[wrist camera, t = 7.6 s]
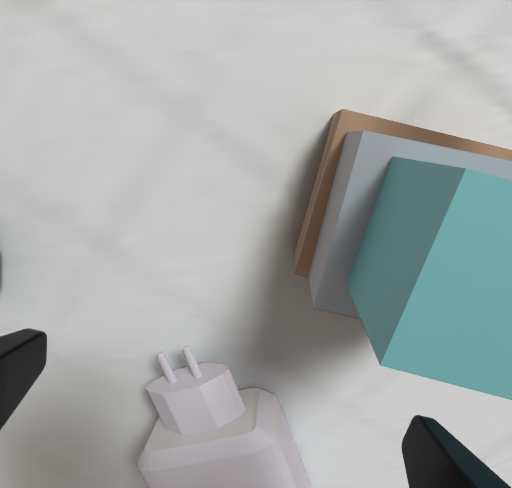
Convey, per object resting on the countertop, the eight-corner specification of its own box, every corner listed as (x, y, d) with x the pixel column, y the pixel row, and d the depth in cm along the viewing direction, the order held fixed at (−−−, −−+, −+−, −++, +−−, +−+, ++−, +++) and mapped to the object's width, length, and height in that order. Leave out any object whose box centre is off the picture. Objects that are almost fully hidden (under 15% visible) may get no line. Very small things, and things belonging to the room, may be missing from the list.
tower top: (308, 274, 17) (312, 308, 14) (346, 131, 15) (363, 130, 11) (444, 305, 17) (483, 346, 13) (504, 164, 15) (567, 172, 11)
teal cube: (346, 283, 13) (379, 365, 8) (392, 156, 12) (465, 168, 7) (470, 315, 13) (574, 416, 8) (533, 192, 12) (704, 230, 7)
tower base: (293, 252, 20) (294, 273, 17) (332, 114, 18) (342, 109, 15) (422, 284, 20) (448, 313, 17) (479, 150, 18) (523, 153, 14)
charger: (249, 311, 22) (313, 481, 25) (124, 343, 23) (202, 498, 27) (238, 356, 17) (318, 555, 21) (84, 392, 19) (184, 570, 23)
